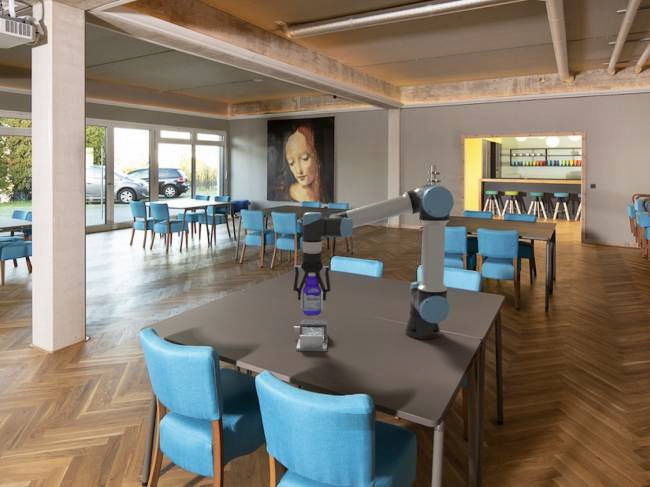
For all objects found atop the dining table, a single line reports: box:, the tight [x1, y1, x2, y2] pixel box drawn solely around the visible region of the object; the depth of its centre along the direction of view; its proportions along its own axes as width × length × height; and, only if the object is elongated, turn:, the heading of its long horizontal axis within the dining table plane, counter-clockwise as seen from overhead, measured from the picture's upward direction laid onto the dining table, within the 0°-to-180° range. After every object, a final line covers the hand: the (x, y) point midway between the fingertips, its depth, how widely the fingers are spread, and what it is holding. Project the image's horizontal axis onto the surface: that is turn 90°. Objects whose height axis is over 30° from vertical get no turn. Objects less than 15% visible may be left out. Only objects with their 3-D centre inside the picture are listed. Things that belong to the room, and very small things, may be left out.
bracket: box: [295, 327, 329, 352], centre depth 196 cm, size 12×11×6 cm
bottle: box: [302, 273, 322, 317], centre depth 193 cm, size 7×6×17 cm
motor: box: [293, 319, 329, 340], centre depth 205 cm, size 14×6×7 cm, turn 88°
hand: (312, 307), depth 194 cm, fingers closed on bottle, 7 cm apart
